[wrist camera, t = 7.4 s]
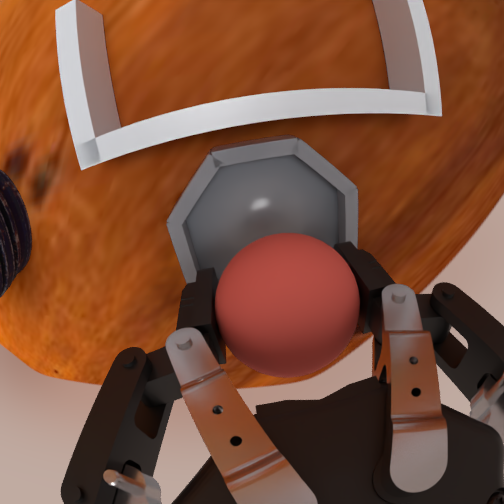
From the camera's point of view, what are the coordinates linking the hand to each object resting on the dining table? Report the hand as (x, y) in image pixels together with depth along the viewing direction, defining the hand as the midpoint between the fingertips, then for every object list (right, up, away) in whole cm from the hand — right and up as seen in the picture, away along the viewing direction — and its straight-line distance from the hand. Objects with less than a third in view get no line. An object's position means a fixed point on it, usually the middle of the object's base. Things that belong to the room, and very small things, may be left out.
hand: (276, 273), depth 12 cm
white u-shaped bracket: (-1, +12, -1) cm, 12 cm away
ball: (0, 0, 0) cm, 0 cm away
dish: (0, +3, +4) cm, 5 cm away
